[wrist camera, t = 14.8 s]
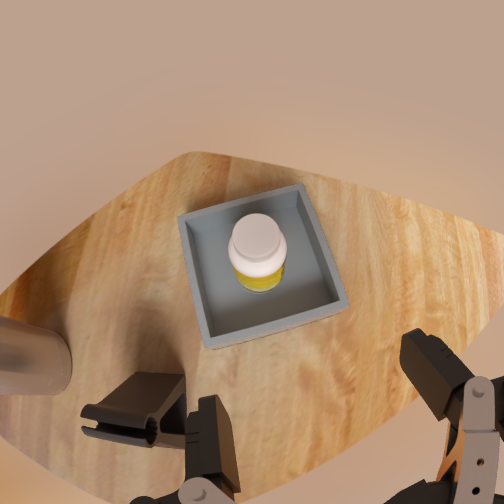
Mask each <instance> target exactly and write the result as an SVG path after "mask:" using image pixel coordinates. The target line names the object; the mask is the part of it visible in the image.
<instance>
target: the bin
mask: <svg viewBox="0 0 504 504" xmlns="http://www.w3.org/2000/svg"><path fill="white" fill-rule="evenodd" d="M250 214H264V215H267V216H269V217H270V218H272V219H273V220H274V221H275V222H276V223H277V225H278V227H279V229H280V231H281V232H282V234H283V235H284V238H285V240H286V244H287V256H286V262H285V271H284V275H283V278H282V281H281V282H280V284H279V285H278V286H277V287H276V288H275V289H273V290H272V291H270V292H267V293H263V294H256V293H252V292H249V291H247V290H246V289H244V288H243V287H242V286H241V285H240V283H239V282H238V280H237V277H236V275H235V272H234V269H233V266H232V264H231V261H230V258H229V254H228V244H229V240H230V238H231V236H232V232H233V229H234V226H235V225H236V223H237V222H238V221H239V220H240V219H241V218H243V217H244V216H247V215H250ZM177 220H178V226H179V231H180V237H181V242H182V248H183V253H184V258H185V263H186V268H187V273H188V278H189V283H190V287H191V292H192V297H193V301H194V306H195V310H196V315H197V319H198V323H199V328H200V332H201V336H202V340H203V344H204V348H207V349H211V350H216V349H220V348H224V347H228V346H232V345H236V344H240V343H243V342H247V341H251V340H254V339H258V338H262V337H265V336H269V335H272V334H276V333H279V332H283V331H286V330H289V329H293V328H296V327H299V326H303V325H306V324H309V323H312V322H315V321H318V320H321V319H324V318H328V317H331V316H334V315H336V314H339V313H341V312H343V311H344V310H345V309H346V308H348V307H349V306H350V303H349V301H348V298H347V295H346V292H345V289H344V286H343V283H342V281H341V278H340V275H339V272H338V270H337V267H336V264H335V262H334V259H333V256H332V254H331V251H330V248H329V246H328V243H327V241H326V238H325V236H324V233H323V230H322V228H321V225H320V223H319V220H318V218H317V216H316V213H315V211H314V208H313V206H312V203H311V201H310V199H309V196H308V194H307V192H306V189H305V187H304V185H303V182H302V183H298V184H294V185H290V186H286V187H282V188H278V189H274V190H270V191H266V192H262V193H258V194H254V195H251V196H247V197H243V198H239V199H236V200H232V201H228V202H225V203H221V204H218V205H214V206H211V207H207V208H204V209H200V210H197V211H193V212H190V213H187V214H183V215H180V216H177Z"/></svg>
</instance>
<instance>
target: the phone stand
mask: <svg viewBox="0 0 504 504" xmlns="http://www.w3.org/2000/svg"><path fill="white" fill-rule="evenodd" d="M186 412H187V404H186V377H185V375H181V374H159V373H144V372H135V373H134V374H133V375H132V376H130V377H129V378H128V379H127V380H126V381H125V382H123V383H122V384H121V385H120V386H119V387H117V388H116V389H115V390H114V391H113V392H111V393H110V394H109V395H108V396H107V397H106V398H104V399H103V400H102V401H101V402H99V403H98V404H87V405H85V406H84V408H83V409H82V412H81V415H80V417H82V418H86V419H91V420H96V421H97V422H98V425H97V426H96V427H97V428H95V429H94V428H90V427H86V426H82V427H81V428H82V431H83V432H84V434H86V435H87V436H91V437H95V438H99V439H104V440H108V441H113V442H118V443H123V444H128V445H134V446H140V447H147V448H152V447H154V446H158V447H166V448H175V449H185V445H186V444H185V436H186V435H185V422H186V420H187V414H186Z"/></svg>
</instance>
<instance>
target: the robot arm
mask: <svg viewBox="0 0 504 504" xmlns="http://www.w3.org/2000/svg"><path fill="white" fill-rule="evenodd" d="M400 365H401V368H402V370H403V371H404V373H405V374H406V375H407V377H408V378H409V380H410V381H411V382H412V384H413V385H414V387H415V388H416V389H417V391H418V392H419V394H420V395H421V396H422V398H423V399H424V401H425V402H426V404H427V405H428V407H429V408H430V409H431V411H432V412H433V414H434V415H435V417H436V418H437V420H438V421H440V420H442V419H444V418H446V417H447V418H448V420H449V423H448V429H447V437H446V443H445V450H444V456H443V460H442V463H441V466H440V468H439V471H438V474H437V478H436V481H433V482H428V483H426V481H425V480H424V479H423V480H421V481H419V482H417V483H415V484H414V485H412V486H410V487H408V488H406V489H404V490H402V491H400V492H399V493H397V494H396V495H395V496H393V497H392V498H391V499H390V500H388V501H387V502H385V503H384V504H504V496H503V495H498V494H494V492H495V486H496V478H497V469H498V459H499V445H500V437H501V439H502V440H503V442H504V376H502V377H499V378H496V379H493V380H489V379H487V378H485V377H481V376H477V377H476V376H474V375H473V374H472V372H471V371H470V370H469V369H468V368H467V367H466V366H465V365H464V364H463V362H462V361H461V360H460V359H459V358H458V357H457V356H456V355H455V354H454V353H453V351H452V350H451V349H450V348H448V346H447V345H446V344H445V343H444V342H443V341H442V340H441V339H440V338H438V337H436V336H434V335H432V334H431V335H429V336H427V335H426V334H425V333H424V332H423V331H422V330H421V329H419V328H416V329H414V330H412V331H410V332H408V333H405V334H403V335H402V340H401V350H400ZM71 370H72V363H71V356H70V351H69V349H68V346H67V344H66V343H65V341H64V339H63V338H62V337H61V336H60V335H59V334H58V333H56V332H55V331H52V330H49V329H45V328H41V327H38V326H34V325H31V324H27V323H24V322H21V321H17V320H14V319H11V318H8V317H4V316H1V315H0V395H56V394H59V393H61V392H62V391H63V390H64V389H65V388H66V386H67V385H68V383H69V380H70V377H71ZM198 408H199V411H195V412H190V413H189V416H188V418H187V420H186V422H185V435H186V436H185V444H186V445H185V480H184V483H183V484H182V485H181V487H180V488H179V489H178V490H177V491H175V492H174V493H171V494H169V495H166V496H163V497H160V498H157V499H153V498H151V497H147V496H140V497H137V498H135V499H134V500H132V501H131V502H130V504H237V503H235V500H234V493H239V492H241V489H240V482H239V476H238V469H237V462H236V455H235V447H234V440H233V432H232V425H231V421H230V418H229V415H228V413H227V411H226V410H225V408H224V406H223V404H222V402H221V400H220V398H219V397H218V395H217V394H216V395H211V396H206V397H201V398H199V400H198ZM495 429H496V430H495Z"/></svg>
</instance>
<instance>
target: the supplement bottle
mask: <svg viewBox="0 0 504 504" xmlns="http://www.w3.org/2000/svg"><path fill="white" fill-rule="evenodd" d="M228 254H229V258H230V261H231V264H232V266H233V269H234V272H235V275H236V277H237V280H238V282H239V283H240V285H241V286H242V287H243V288H244V289H246V290H247V291H249V292H252V293H256V294H263V293H267V292H270V291H272V290H273V289H275V288H276V287H277V286H278V285H279V284H280V282H281V281H282V278H283V275H284V271H285V262H286V256H287V244H286V240H285V238H284V235H283V234H282V232H281V231H280V229H279V227H278V225H277V223H276V222H275V221H274V220H273V219H272V218H270V217H269V216H267V215H264V214H250V215H247V216H244V217H243V218H241V219H240V220H239V221H238V222H237V223H236V225H235V226H234V229H233V232H232V236H231V238H230V240H229V244H228Z"/></svg>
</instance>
